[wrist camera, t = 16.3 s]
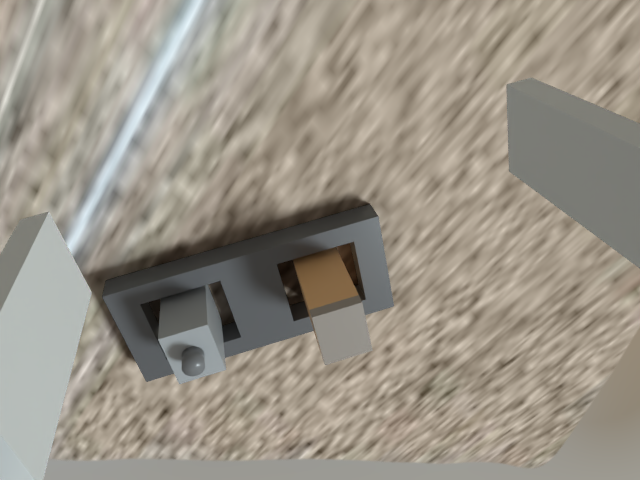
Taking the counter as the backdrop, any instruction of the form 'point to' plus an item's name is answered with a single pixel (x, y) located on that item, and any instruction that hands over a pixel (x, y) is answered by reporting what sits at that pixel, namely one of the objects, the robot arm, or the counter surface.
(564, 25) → the counter surface
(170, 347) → the gray fixture base
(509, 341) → the counter surface
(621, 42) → the counter surface
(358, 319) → the plug
